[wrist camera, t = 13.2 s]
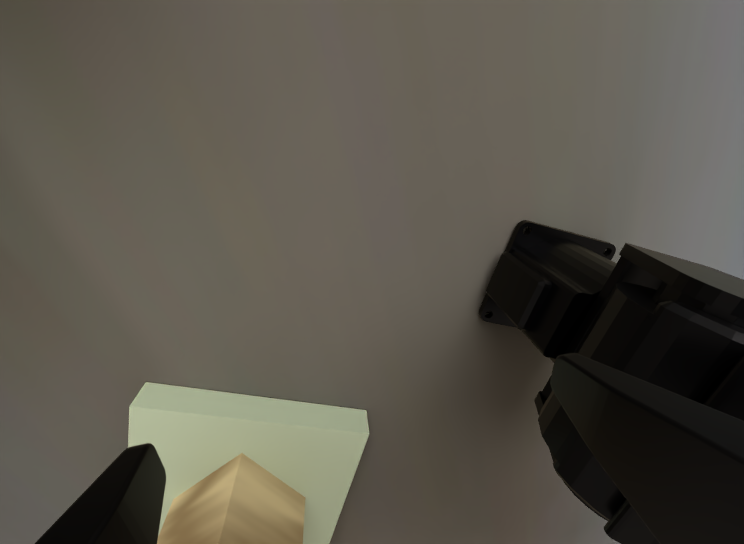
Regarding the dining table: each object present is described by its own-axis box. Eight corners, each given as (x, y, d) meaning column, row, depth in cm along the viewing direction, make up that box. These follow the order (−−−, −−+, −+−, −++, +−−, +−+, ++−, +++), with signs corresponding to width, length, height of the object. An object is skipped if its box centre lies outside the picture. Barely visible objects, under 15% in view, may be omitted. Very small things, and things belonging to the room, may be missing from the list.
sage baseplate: (366, 410, 25) (369, 433, 23) (322, 536, 30) (321, 564, 28) (146, 381, 22) (129, 406, 20) (138, 527, 27) (124, 557, 25)
